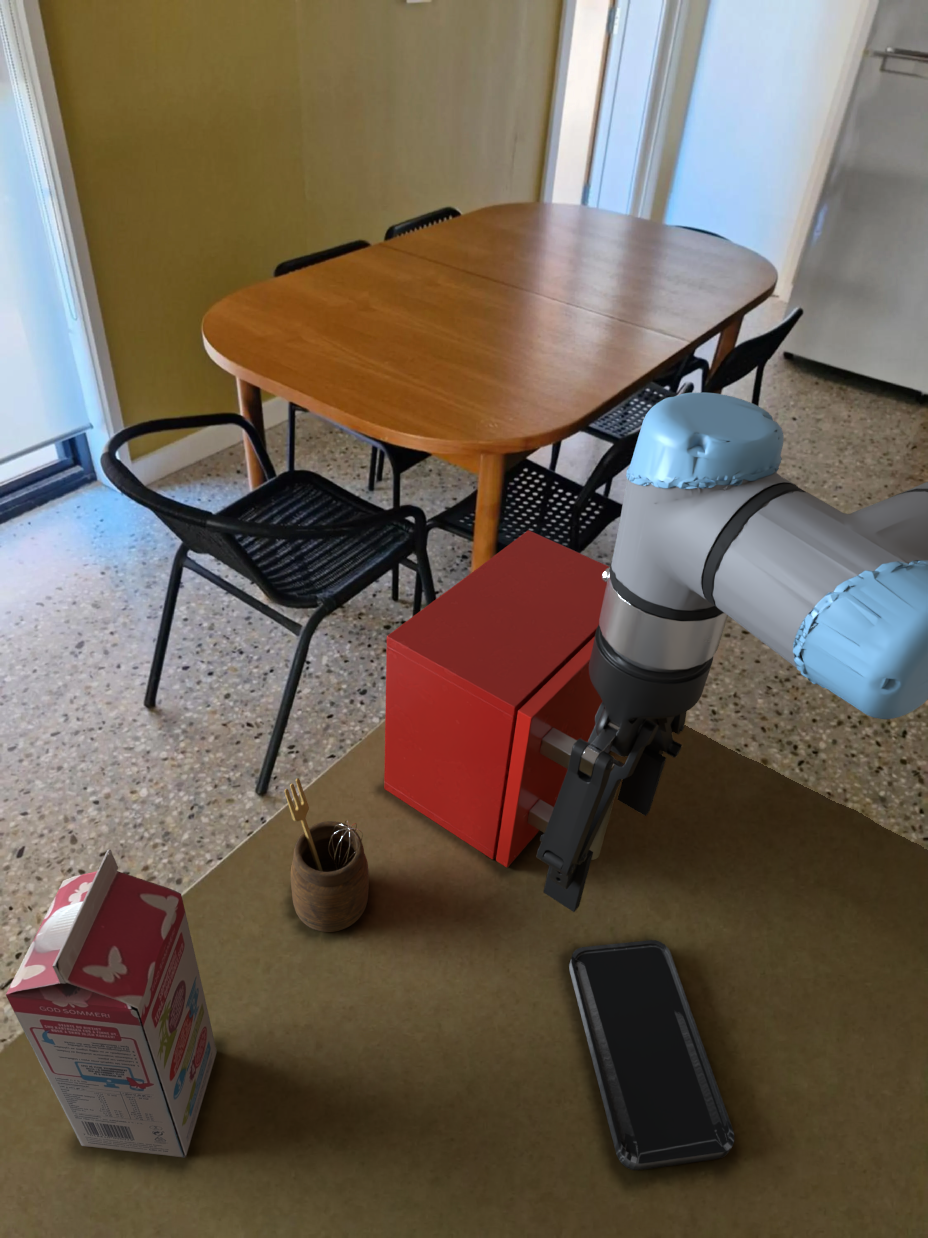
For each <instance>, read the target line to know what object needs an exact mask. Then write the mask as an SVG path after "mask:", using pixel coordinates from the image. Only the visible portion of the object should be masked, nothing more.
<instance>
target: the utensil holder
mask: <svg viewBox="0 0 928 1238" xmlns="http://www.w3.org/2000/svg"><path fill="white" fill-rule="evenodd" d="M295 784H296V787H297V790H298V792H297V790H296V787H295ZM295 784H294V783H290V784H289V788H290V791H289V789H288V788H285V789H284V795H285V798H286V801H287V805H288V808H289V811H290V815H291V819H292V820H293V821H294V822H300V824H301V826H302V830H303V831H302V833H301V834H300V835H299V836H298V838H297V840H296V842H295V845H294V849H293V859H292V862H291V867H290V886H291V887H290V888H291V896H292V898H291V899H292V904H293V908H294V911H295V913H296V915H297V917H298V918H299V920H300V921H301V922H302V923H303V924H305V926H307V927H309V928H310V929H312V930H315V931H318V932H322V933H333V932H340V931H342V930H345V929H347V928H349V927H350V926H352V925H354V924H355V923H356V922H357V921H358V920H359V919H360V918H361V916H362V915H363V913H364V912H365V910H366V907H367V903H368V900H369V879H370V877H369V863H368V859H367V856H366V853H365V849H364V844H363V836H364V834H363V832H362V831H361V829H359V828H357V827H358V824H357V823H356V822H355V823H353V824H351V825H350V824H349V821H348V820H345V821H344V823H343V822H339V821H333V820H330V821H329V820H328V821H320V822H317V823H315V824H313V825H311V826H309V825H308V821H307V815H308V813H309V810H310V805H309V803H308V800H307V798H306V795H305V791H304V788H303V786H302V783H301V780H300V778H299V777H297V778H296V779H295ZM290 792H291V793H292V796H291V794H290ZM292 798H293V800H292ZM293 801H294V803H293ZM294 804H295V805H294ZM346 823H347V824H346ZM354 825H355V827H353V826H354ZM357 831H359V832H360V833H361V836H360V835H359V833H358V832H357Z"/></svg>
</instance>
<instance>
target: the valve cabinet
mask: <svg viewBox="0 0 928 1238" xmlns="http://www.w3.org/2000/svg"><path fill="white" fill-rule="evenodd" d="M607 568H610V566H609V565H607V564H604V563H602V562H601V561H598V560H595V559H594V558H591V557H590V556H587V555H584V554H582V553H580V552H578V551H575V550H574V549H571V548H569V547H566V546H564V545H563V544H560V543H558V542H555V541H553V540H551V539H549V538H546V537H544V536H542V535H541V534H538V533H535V532H534V531H531V530H529V529H528V530H526V532H524V533H522V534H521V535H520V536H519V537H517V538H516V539H514V540H513V541H512V542H510V543H509V544H507V546H505V547H504V548H503V549H501V550H500V551H499V552H497V553H495V554H494V555H493V556H492V557H490V558H489V559H488V560H487V561H485V562H484V563H482V564H481V565H480V566H479V567H477V568H476V569H475V570H473V571H472V572H471V573H469V574H468V575H466V576H465V577H464V578H462V579H461V580H460V581H458V582H457V583H455V584H454V585H453V586H452V587H450V588H449V589H448V590H446V591H445V592H444V593H442V594H441V595H440V596H439V597H438V596H437V598H435V600H433V601H432V602H430V603H429V604H427V605H426V606H425V607H424V608H422V609H421V610H420V611H418V612H417V613H416V614H414V615H413V616H411V618H409V619H408V620H406V621H405V622H404V623H402V624H400V626H398V627H397V628H396V629H394V630H392V631H391V632H390V633H389V634H388V635H387V636H386V651H385V652H386V655H385V656H386V658H385V659H386V660H385V663H386V664H385V671H386V672H385V718H384V719H385V720H384V722H385V723H384V773H383V774H384V775H383V776H384V778H383V779H384V780H383V781H384V784H383V787H384V790H385V791H387V792H388V793H390V794H392V795H393V796H394V797H396V798H398V799H399V800H401V801H402V802H403V803H405V804H407V805H408V806H410V807H411V808H413V809H414V810H416V811H417V812H419V813H421V814H422V815H423V816H425V817H426V818H428V819H429V820H431V821H433V822H434V823H436V824H437V825H439V826H440V827H442V828H443V829H445V830H446V831H448V832H450V833H451V834H453V835H454V836H455V837H457V838H459V839H460V840H462V841H463V842H464V843H466V844H468V845H469V846H471V847H473V848H474V849H476V850H477V851H479V852H480V853H482V854H483V855H484V856H486V857H488V858H489V859H491V860H494V859H496V856H497V850H498V843H499V836H500V830H501V823H502V816H503V809H504V803H505V796H506V789H507V782H508V776H509V769H510V762H511V755H512V749H513V742H514V735H515V728H516V722H517V715H518V710H519V709H521V708H522V707H523V706H524V705H525V704H526V703H527V702H528V701H529V700H530V699H531V698H532V697H533V696H534V695H535V694H536V693H537V692H538V691H539V690H540V689H541V688H542V687H543V686H544V685H545V684H546V683H547V682H548V681H549V680H550V679H551V678H552V677H553V676H554V675H555V674H556V673H557V672H558V671H559V670H560V669H561V668H562V667H564V666H565V665H566V664H567V663H568V662H569V661H570V660H571V659H572V658H573V657H574V656H575V655H576V654H577V653H578V652H579V651H580V650H581V649H582V648H583V647H584V646H585V645H586V644H587V643H588V642H589V641H590V640H591V639H592V638H593V637H594V636H595V634H596V630H597V627H598V625H599V619H600V614H601V609H602V604H603V600H604V595H605V590H606V586H607V583H606V582H604V581H603V579H602V574H603V573H604V572H605V570H606V569H607Z"/></svg>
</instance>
